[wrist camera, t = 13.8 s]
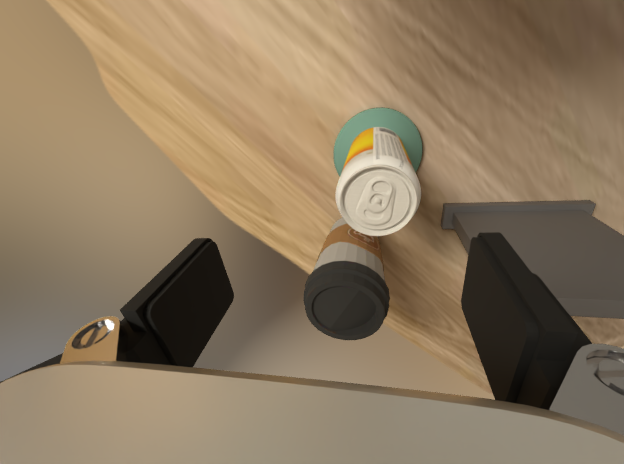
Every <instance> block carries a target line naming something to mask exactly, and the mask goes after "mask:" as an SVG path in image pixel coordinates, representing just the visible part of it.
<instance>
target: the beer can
mask: <svg viewBox="0 0 624 464" xmlns="http://www.w3.org/2000/svg"><path fill="white" fill-rule="evenodd" d="M420 200H421V186H420V182H419V180H418V177H417V175H416V173H415V171H414V168H413V166H412V164H411V161H410V159H409V157H408V155H407V152H406V150H405V148H404V145H403V143H402V141H401V139H400V138H399V136H398V135H397V134H396V133H395V132H393V131H392V130H390V129H387V128H384V127H373V128H369V129H367V130H365V131H363V132H361V133H360V134H359V135H358V136H357V137H356V138H355V139H354V141H353V143H352V145H351V147H350V150H349V153H348V156H347V159H346V161H345V164H344V167H343V170H342V173H341V176H340V179H339V181H338V184H337V188H336V204H337V207H338V210H339V212H340V214H341V216H342V217H343V218H344V220H345V221H346V222H347V223H348V224H349V225H350V226H351V227H352V228H353V229H355V230H356V231H358V232H360V233H362V234H365V235H370V236H385V235H389V234H392V233H394V232H397V231H398V230H400V229H402V228H403V227H404V226H405V225H406V224H407V223H408V222H409V221H410V220H411V218H412V217H413V216H414V214H415V213H416V211H417V209H418V207H419V204H420Z"/></svg>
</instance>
